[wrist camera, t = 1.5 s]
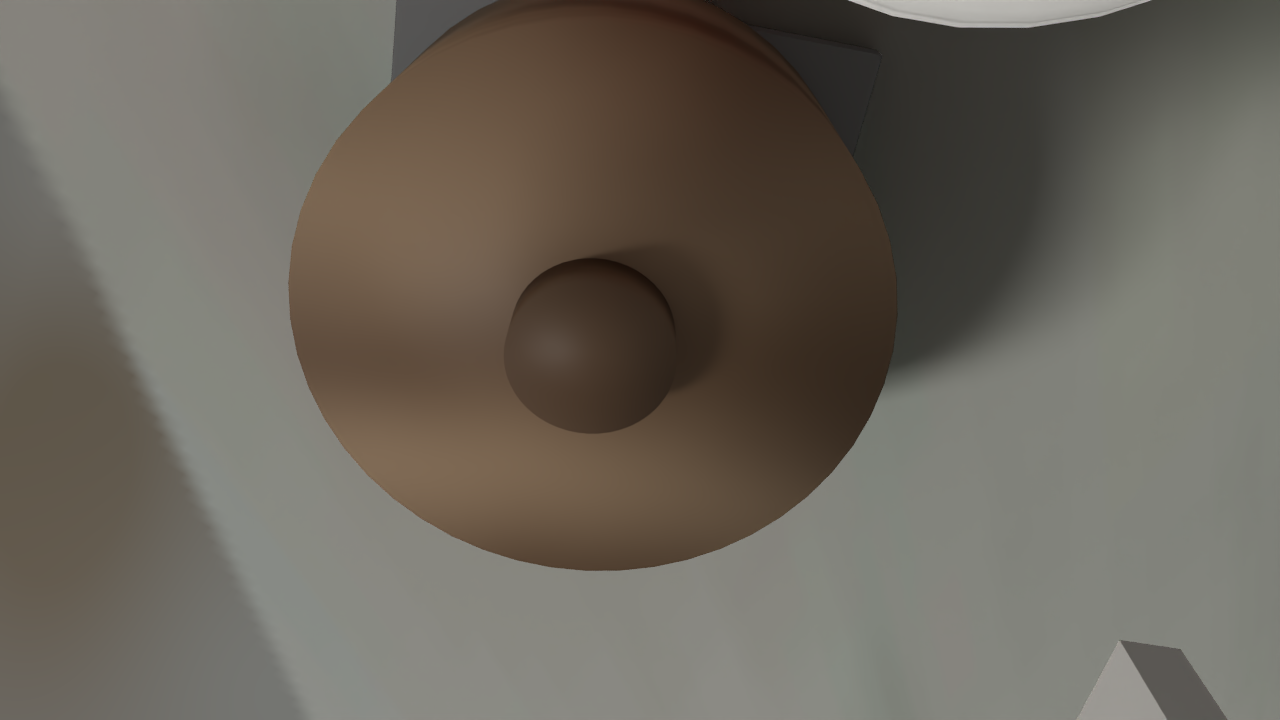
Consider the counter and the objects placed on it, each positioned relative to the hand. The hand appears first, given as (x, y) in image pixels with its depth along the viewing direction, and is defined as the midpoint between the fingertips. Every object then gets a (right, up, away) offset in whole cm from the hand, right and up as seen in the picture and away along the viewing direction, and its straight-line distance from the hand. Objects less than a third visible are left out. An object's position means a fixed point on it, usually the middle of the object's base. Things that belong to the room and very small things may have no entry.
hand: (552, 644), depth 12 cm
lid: (0, +6, +11) cm, 13 cm away
